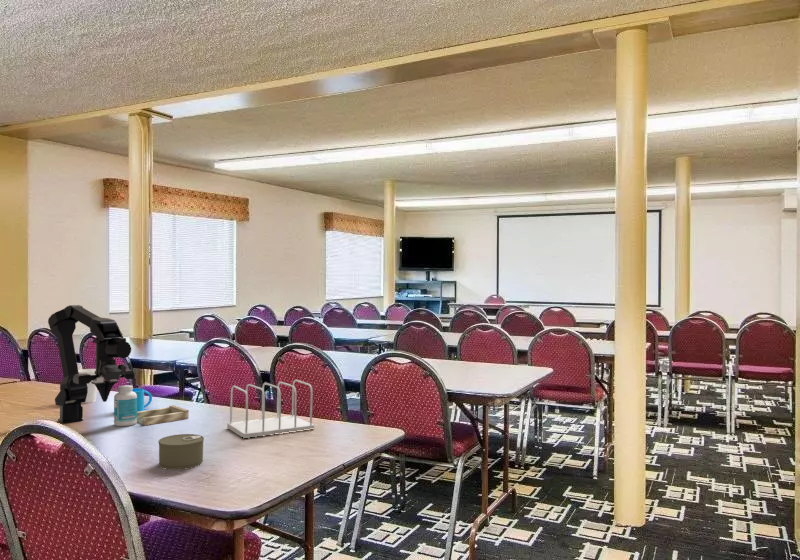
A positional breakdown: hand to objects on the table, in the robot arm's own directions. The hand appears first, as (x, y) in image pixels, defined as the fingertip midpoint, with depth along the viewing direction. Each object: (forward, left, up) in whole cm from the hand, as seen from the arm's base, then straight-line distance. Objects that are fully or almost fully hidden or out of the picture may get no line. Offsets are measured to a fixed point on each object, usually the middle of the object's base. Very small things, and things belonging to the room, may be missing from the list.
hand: (104, 401), depth 217 cm
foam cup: (+12, +52, -9) cm, 54 cm away
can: (-1, -58, -9) cm, 59 cm away
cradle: (+19, 0, -9) cm, 21 cm away
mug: (+20, +21, -9) cm, 31 cm away
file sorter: (+40, -41, -9) cm, 58 cm away
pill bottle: (+7, 0, -9) cm, 12 cm away
